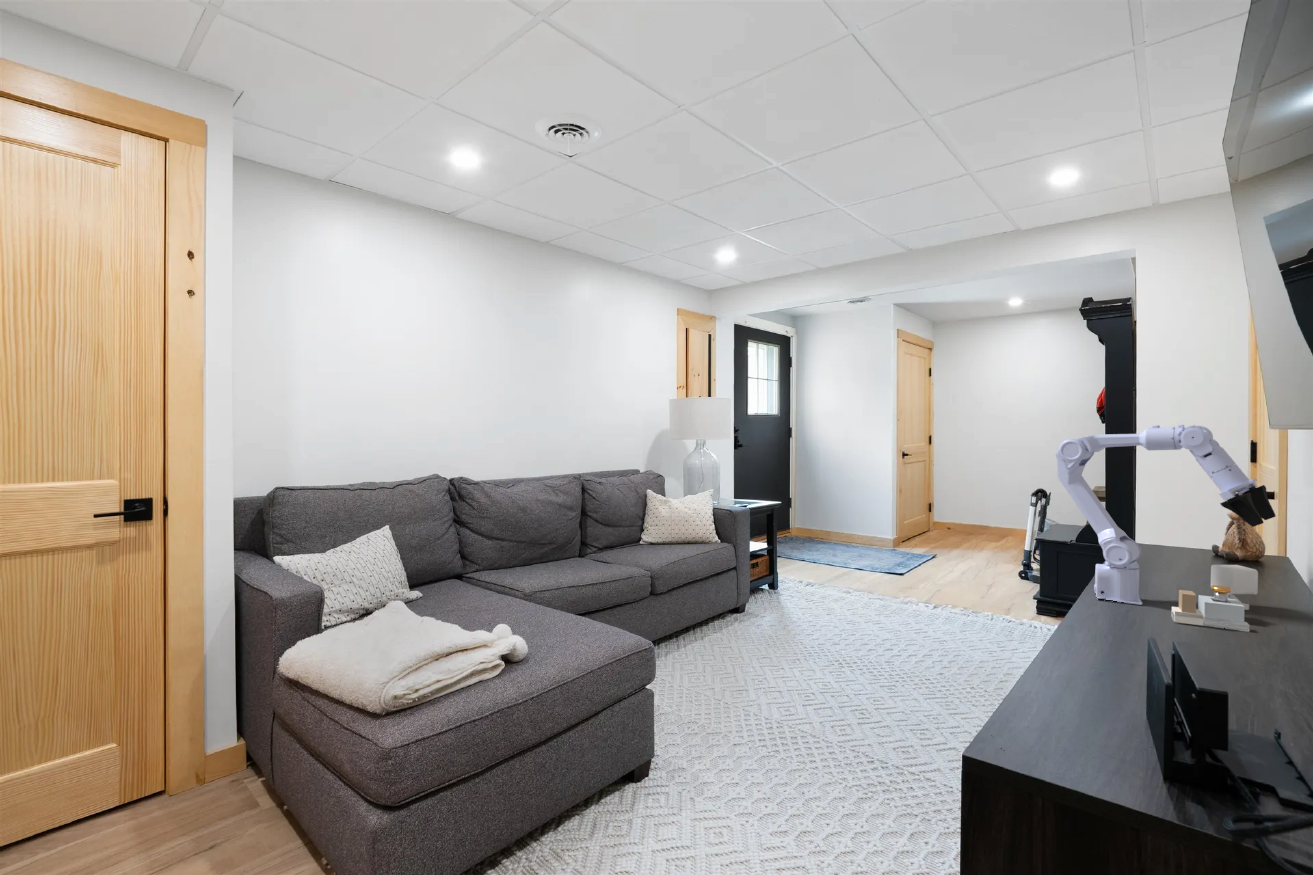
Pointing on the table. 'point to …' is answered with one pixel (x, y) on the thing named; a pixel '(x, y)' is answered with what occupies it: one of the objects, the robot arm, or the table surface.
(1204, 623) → the rail
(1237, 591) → the security camera
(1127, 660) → the table surface
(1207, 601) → the grey square-hole block
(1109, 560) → the robot arm
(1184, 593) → the carriage
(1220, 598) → the gold round knob
